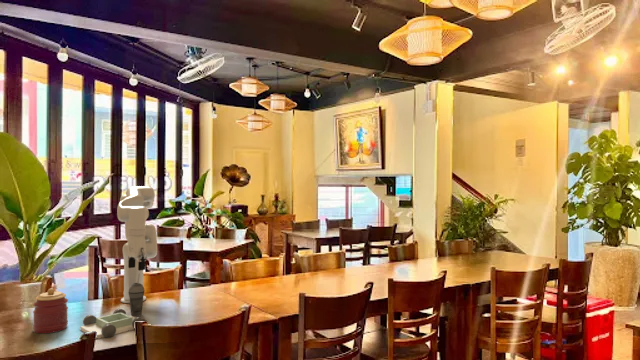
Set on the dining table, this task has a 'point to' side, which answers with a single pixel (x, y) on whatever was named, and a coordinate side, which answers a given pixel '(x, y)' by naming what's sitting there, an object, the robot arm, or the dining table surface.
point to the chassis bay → (109, 323)
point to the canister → (50, 312)
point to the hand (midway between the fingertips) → (136, 268)
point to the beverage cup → (136, 298)
